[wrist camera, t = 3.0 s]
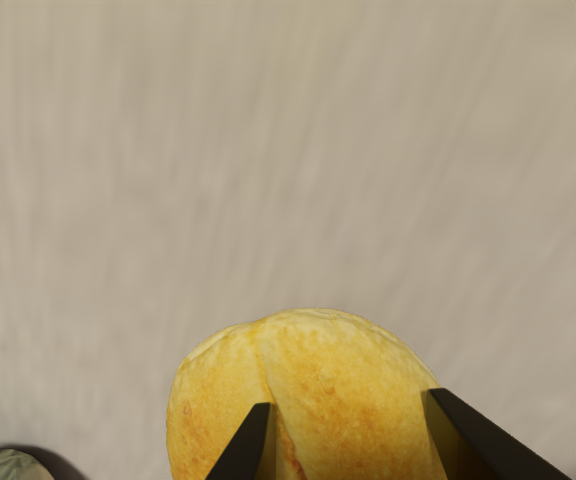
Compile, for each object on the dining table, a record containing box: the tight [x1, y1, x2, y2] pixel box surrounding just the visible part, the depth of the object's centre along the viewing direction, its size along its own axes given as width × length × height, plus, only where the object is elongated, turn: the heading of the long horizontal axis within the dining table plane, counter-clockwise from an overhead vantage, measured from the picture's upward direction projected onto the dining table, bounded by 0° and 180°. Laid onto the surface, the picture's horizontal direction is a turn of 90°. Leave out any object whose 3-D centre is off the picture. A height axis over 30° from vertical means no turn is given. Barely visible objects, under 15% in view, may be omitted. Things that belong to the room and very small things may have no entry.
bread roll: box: [166, 308, 448, 480], centre depth 9 cm, size 8×9×4 cm
